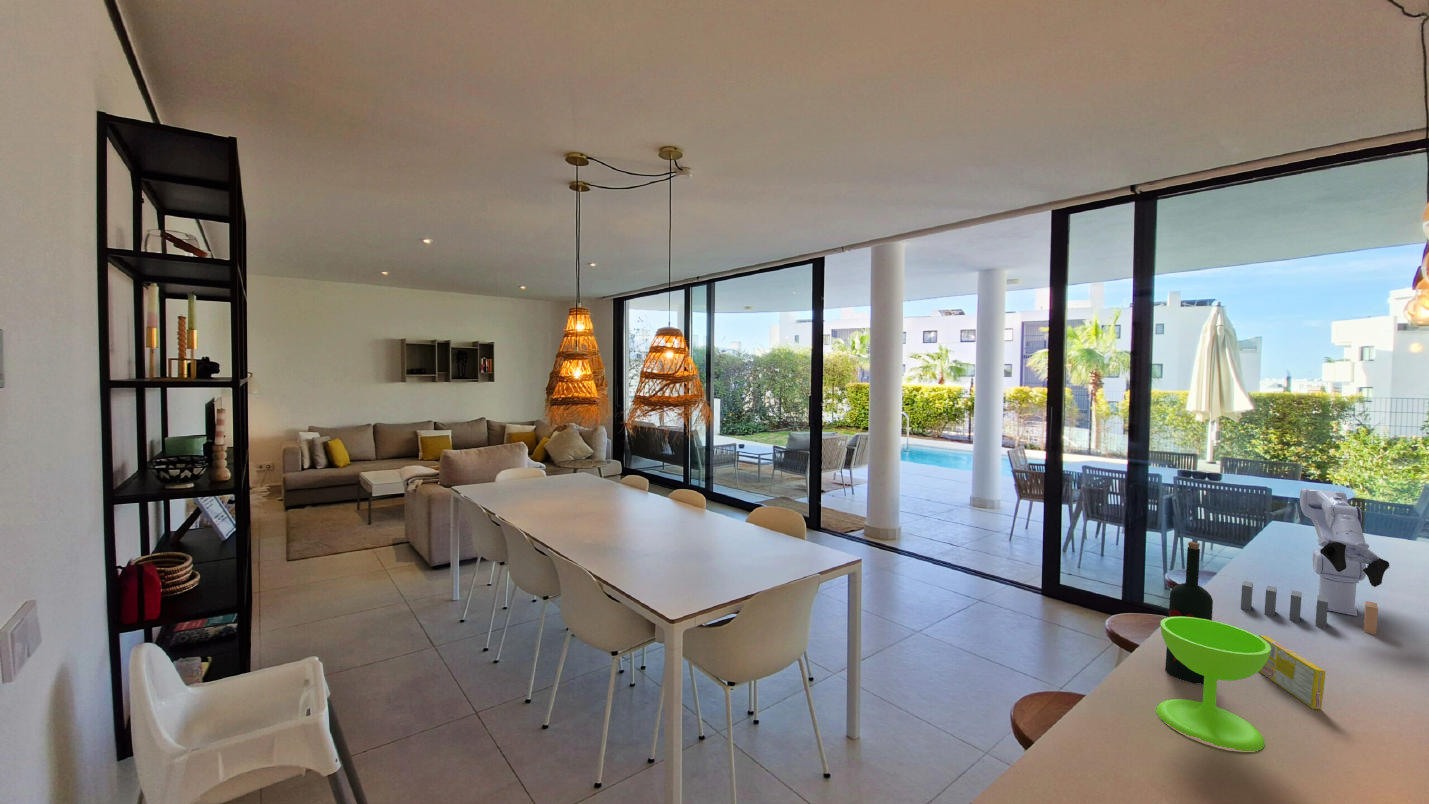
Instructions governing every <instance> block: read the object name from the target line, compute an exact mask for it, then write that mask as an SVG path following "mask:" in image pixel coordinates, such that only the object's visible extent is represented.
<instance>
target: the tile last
mask: <svg viewBox="0 0 1429 804" xmlns="http://www.w3.org/2000/svg"><path fill="white" fill-rule="evenodd" d="M1253 587H1254V582H1252V581H1247V580H1243V582H1242V584H1241V595H1240V596H1241V597H1240V609H1241V610H1245V611H1248V612H1249V611H1251V609H1252V604H1253V603H1252V602H1253Z"/></svg>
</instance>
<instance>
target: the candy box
mask: <svg viewBox="0 0 1429 804" xmlns="http://www.w3.org/2000/svg"><path fill="white" fill-rule="evenodd" d="M1258 636H1259V637H1260V638H1262V639H1264V640H1265V641H1266V642H1267V643H1268V644H1269V645H1270V647H1271V652H1270V655H1269V659H1268V661H1267V662H1266V664H1265V665H1264V666H1263V667H1262V669H1261V670H1260V671H1259V672H1258V673H1260V674H1262V675H1264V676H1265V677H1266V678H1268V679H1269V680H1271V682H1273V683H1275V684H1276V685H1278V686H1279V687H1280V688H1282V689H1283V690H1284V691H1286V692H1288V693H1289V694H1291V696H1293V697H1295V699H1297V700H1299V701H1301V703H1303V704H1305V705H1306V706H1307V707H1309V708H1310V709H1311V708H1312V710H1319V709H1320V710H1322V705H1323V700H1324V699H1323V697H1324V690H1325V682H1326V681H1325V680H1326V670H1324V669H1322V668H1321V667H1319V666H1317V665H1316V664H1314V663H1313V662H1311V661H1310V660H1308V659H1306V658H1304V657H1303V656H1301V655H1299V654H1298V653H1296V652H1294V651H1293V650H1291V649H1290V648H1287V647H1286V646H1284V645H1283V644H1281V643H1279V642H1278V641H1276V640H1274V639H1272V637H1269V636H1268V635H1261V634H1259V635H1258Z"/></svg>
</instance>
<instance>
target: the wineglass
mask: <svg viewBox="0 0 1429 804" xmlns="http://www.w3.org/2000/svg"><path fill="white" fill-rule="evenodd" d="M1160 631H1161V636H1162V639H1163V641H1164V644H1165V646H1166V648H1167V647H1168V649H1169V650H1170V651H1171V652H1172V654H1173V655H1174V656H1175V658H1176V659H1177V660H1179V661H1180V662H1181V663H1182V664H1184V665H1185V666H1186V667H1188V668H1189V669H1190V670H1192V671H1194V672H1196V673H1198V674H1201V675H1203V676H1204V684H1203V693H1202V694H1203V695H1202V701H1197V700H1191V699H1182V698H1177V699H1175V698H1172V699H1167V700H1163V701H1162V702H1160V703H1159V704H1158V705H1157V706H1156V708H1157V710H1156V709H1155V710H1156V711H1155V713H1156V712H1157V713H1158V715H1157V717H1158V716H1159V717H1160V718H1161V719H1162V720H1163V721H1164V722H1166V723H1167V724H1169V725H1170V726H1171V727H1173V728H1175V729H1176V730H1178V731H1181V732H1182V733H1185V734H1186V735H1189V736H1193V737H1197V738H1200V739H1201V740H1203V741H1206V742H1210V743H1213V744H1214V745H1217V746H1222V747H1227V748H1234V749H1236V750H1241V751H1257V750H1260V751H1262V750H1263V749H1264V748H1265V746H1266V744H1265V743H1264V742H1265V740H1264V739H1265V738H1264V736H1263V735H1262V734H1261V732H1260V731H1259V730H1258V729H1257V728H1256V727H1255V726H1253V724H1251V723H1250V722H1249V721H1247V720H1245V719H1243V717H1241V716H1238V715H1237V714H1236V713H1235V714H1234V713H1233V712H1230V711H1228V710H1226V709H1224V708H1221V707H1218V706H1217V689H1218V680H1219V681H1227V682H1228V681H1230V682H1231V681H1238V680H1243V679H1244V680H1245V679H1247V678H1250V677H1252V676H1254V675H1255V674H1257V673H1260V672H1259V671H1260V670H1261V669H1262V667H1263V666H1264V665H1265V664H1266V662H1267V661H1268V659H1269V655H1270V652H1271V647H1270V645H1269V644H1268V643H1267V642H1266V641H1265V640H1264V639H1262V638H1260V637H1259V635H1257V634H1255V633H1252V632H1250V631H1247V630H1245V629H1242V628H1240V627H1236V626H1234V625H1231V624H1227V623H1224V622H1220V621H1216V620H1213V619H1212V620H1207V619H1201V618H1194V617H1181V616H1180V617H1169V616H1167V617H1165V618H1163V619H1161V620H1160ZM1159 717H1158V718H1159ZM1263 747H1264V748H1263ZM1262 748H1263V749H1262ZM1261 749H1262V750H1261ZM1257 752H1258V751H1257Z"/></svg>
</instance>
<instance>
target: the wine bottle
mask: <svg viewBox="0 0 1429 804" xmlns="http://www.w3.org/2000/svg"><path fill="white" fill-rule="evenodd" d="M1200 545H1201V543H1200V542H1195V541H1189V542H1188V546H1187V547H1186V548H1187V549H1186V550H1187V551H1186V570H1185V582H1183V583H1178V584H1176V585H1175V586H1173V587H1172V588H1171V589H1170V593H1169V601H1168V603H1169V606H1168V617H1180V616H1181V617H1194V618H1201V619H1207V620H1212V621H1213V608H1214V606H1213V605H1214V599H1213V597H1212V595H1211V594H1210V592H1209V591H1207V590H1206V589H1205V588H1203V586H1200V585H1199V577H1200V575H1199V572H1200V556H1201V549H1200ZM1165 650H1166V653H1165V655H1166V656H1165V669H1164V671H1165V672H1166V673H1167V675H1169V676H1171V677H1173V678H1176V679H1177V678H1178V680H1180V679H1181V681H1183V680H1184V681H1183V682H1186V681H1187V683H1190V682H1191V684H1196V683H1201V684H1200V685H1204V676H1203V675H1201V674H1198V673H1196V672H1194V671H1192V670H1190V669H1189V668H1188V667H1186V666H1185V665H1184V664H1182V663H1181V662H1180V661H1179V660H1177V659H1176V658H1175V656H1174V655H1173V654H1172V652H1171V651H1170V650H1169V649H1168V647H1167V646H1166V649H1165Z"/></svg>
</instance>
